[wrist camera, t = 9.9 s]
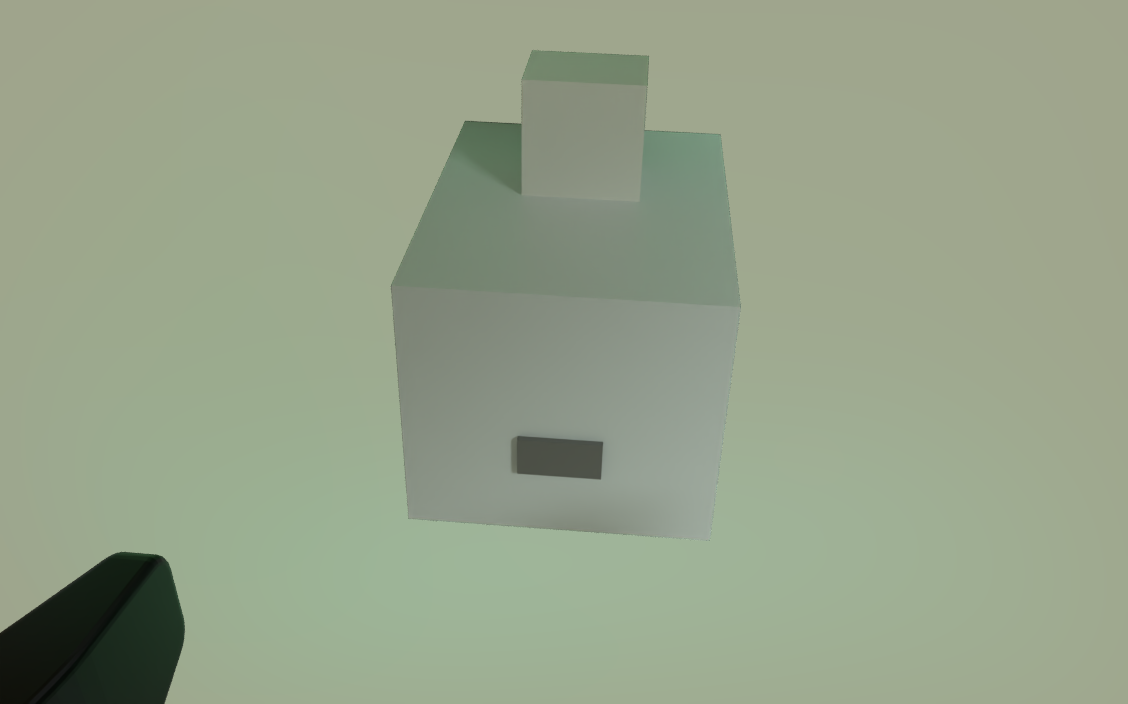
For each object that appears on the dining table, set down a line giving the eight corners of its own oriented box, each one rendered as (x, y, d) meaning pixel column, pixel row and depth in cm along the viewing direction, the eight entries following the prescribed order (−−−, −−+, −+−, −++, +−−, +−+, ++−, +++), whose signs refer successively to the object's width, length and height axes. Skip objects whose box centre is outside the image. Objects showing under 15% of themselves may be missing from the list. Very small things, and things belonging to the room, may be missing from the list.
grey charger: (731, 30, 17) (758, 178, 12) (699, 328, 21) (709, 545, 15) (462, 18, 18) (379, 157, 13) (470, 315, 21) (407, 522, 16)
